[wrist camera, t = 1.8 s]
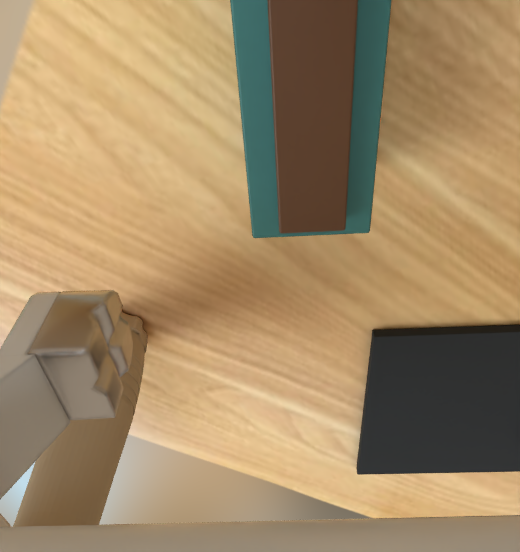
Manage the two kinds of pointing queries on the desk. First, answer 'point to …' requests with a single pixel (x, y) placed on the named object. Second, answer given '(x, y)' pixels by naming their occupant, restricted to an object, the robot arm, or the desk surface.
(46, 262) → the desk surface
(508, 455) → the mat
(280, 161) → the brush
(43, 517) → the handle
